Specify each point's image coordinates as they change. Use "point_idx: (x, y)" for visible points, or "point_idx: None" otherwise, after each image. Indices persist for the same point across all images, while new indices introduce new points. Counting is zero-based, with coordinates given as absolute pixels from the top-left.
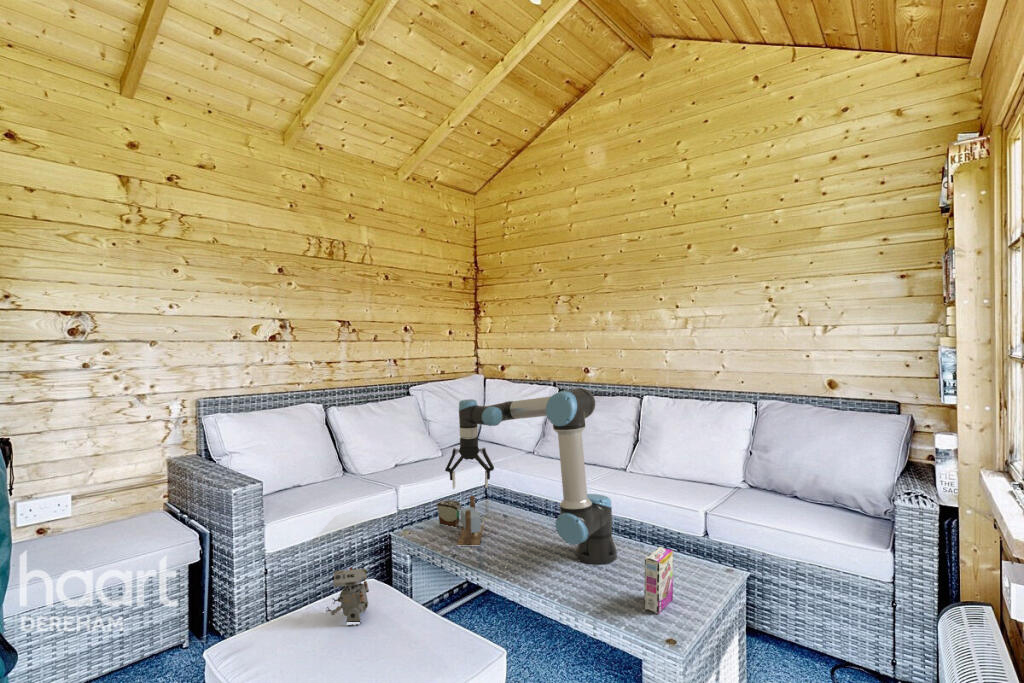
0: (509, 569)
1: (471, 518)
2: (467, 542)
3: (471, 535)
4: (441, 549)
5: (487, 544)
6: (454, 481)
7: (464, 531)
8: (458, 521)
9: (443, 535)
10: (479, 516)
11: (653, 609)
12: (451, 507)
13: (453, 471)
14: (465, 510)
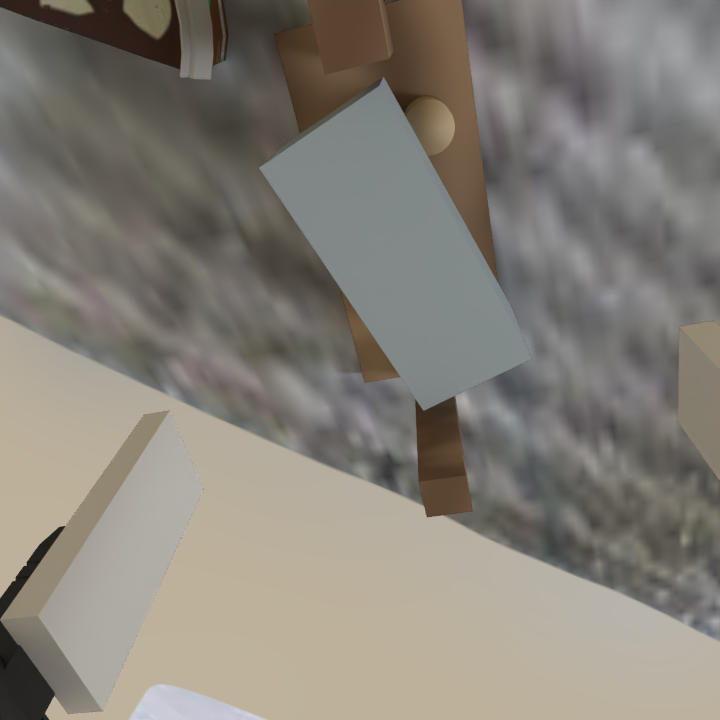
0: (704, 556)
1: (454, 395)
2: None
3: None
4: (287, 417)
5: (550, 311)
6: (163, 555)
7: None
8: (217, 12)
9: (199, 222)
10: (517, 346)
11: None
12: (107, 43)
13: (8, 619)
14: (333, 217)
